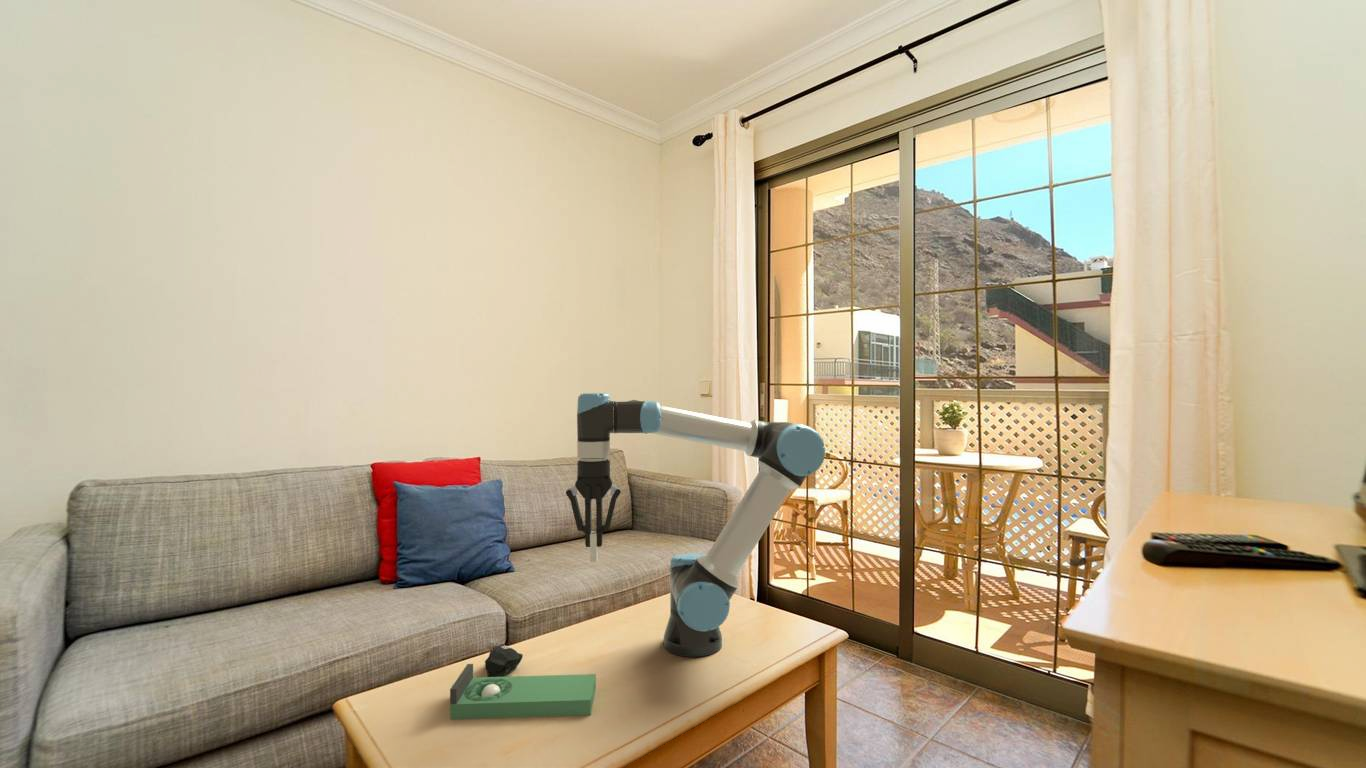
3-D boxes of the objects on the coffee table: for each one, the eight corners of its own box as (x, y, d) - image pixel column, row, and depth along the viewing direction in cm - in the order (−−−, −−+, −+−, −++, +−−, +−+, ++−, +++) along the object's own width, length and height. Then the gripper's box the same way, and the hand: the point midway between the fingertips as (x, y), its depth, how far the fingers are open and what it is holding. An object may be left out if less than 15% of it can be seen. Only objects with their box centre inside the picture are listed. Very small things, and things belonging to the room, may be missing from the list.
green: (595, 687, 130) (595, 660, 130) (590, 714, 119) (590, 685, 119) (467, 691, 128) (467, 663, 129) (450, 719, 117) (450, 689, 118)
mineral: (468, 675, 136) (469, 650, 136) (500, 660, 144) (500, 636, 144) (498, 687, 131) (498, 661, 131) (528, 671, 138) (529, 646, 138)
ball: (498, 679, 126) (479, 688, 125) (495, 681, 122) (476, 691, 121) (504, 697, 125) (486, 707, 124) (502, 700, 121) (483, 710, 120)
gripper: (622, 457, 141) (622, 555, 140) (567, 457, 140) (568, 556, 140) (620, 460, 133) (621, 564, 133) (563, 461, 133) (563, 566, 132)
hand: (593, 560), depth 136 cm, fingers closed
